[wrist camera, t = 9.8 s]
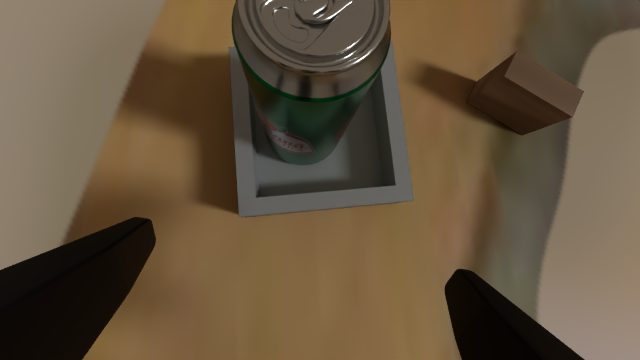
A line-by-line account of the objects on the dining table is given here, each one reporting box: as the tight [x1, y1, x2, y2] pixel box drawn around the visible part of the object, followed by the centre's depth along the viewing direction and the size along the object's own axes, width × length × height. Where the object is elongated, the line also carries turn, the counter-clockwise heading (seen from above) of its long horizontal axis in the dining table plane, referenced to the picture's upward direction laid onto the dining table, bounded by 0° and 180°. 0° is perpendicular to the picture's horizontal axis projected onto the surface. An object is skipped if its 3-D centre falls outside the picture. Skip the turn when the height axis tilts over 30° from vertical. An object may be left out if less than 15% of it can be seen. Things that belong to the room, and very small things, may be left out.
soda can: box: [232, 0, 391, 165], centre depth 14 cm, size 5×5×12 cm
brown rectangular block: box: [467, 52, 584, 135], centre depth 20 cm, size 2×5×4 cm, turn 59°
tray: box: [229, 41, 414, 217], centre depth 19 cm, size 10×10×3 cm
